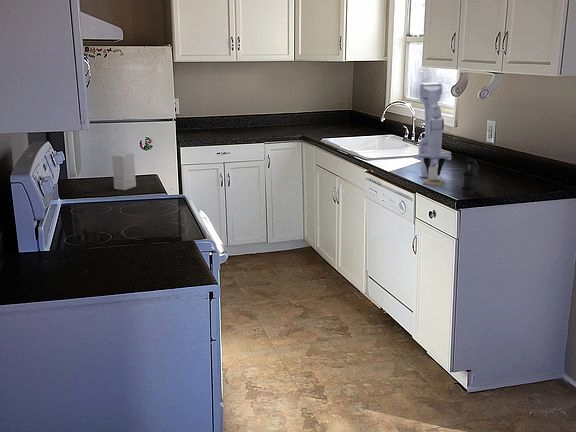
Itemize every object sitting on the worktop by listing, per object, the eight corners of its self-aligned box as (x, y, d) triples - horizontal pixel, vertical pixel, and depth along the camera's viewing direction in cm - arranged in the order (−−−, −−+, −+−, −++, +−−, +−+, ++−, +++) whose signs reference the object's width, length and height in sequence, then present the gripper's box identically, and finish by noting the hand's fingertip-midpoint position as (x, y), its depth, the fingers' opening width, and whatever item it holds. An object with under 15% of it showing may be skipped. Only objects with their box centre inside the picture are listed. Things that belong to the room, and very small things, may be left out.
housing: (430, 177, 302) (430, 163, 301) (439, 177, 301) (439, 163, 299) (428, 179, 297) (428, 165, 295) (437, 180, 296) (437, 165, 294)
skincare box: (126, 185, 304) (123, 152, 300) (137, 186, 301) (134, 153, 298) (113, 189, 297) (110, 154, 293) (124, 190, 294) (122, 155, 290)
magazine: (460, 193, 272) (465, 158, 274) (466, 200, 283) (472, 167, 286) (469, 193, 270) (474, 158, 272) (475, 201, 282) (481, 167, 284)
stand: (426, 181, 305) (426, 177, 304) (443, 182, 302) (443, 179, 301) (423, 184, 297) (423, 181, 297) (440, 185, 295) (441, 182, 294)
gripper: (417, 145, 294) (416, 175, 298) (450, 147, 289) (448, 177, 292) (420, 143, 301) (419, 172, 304) (452, 144, 295) (451, 174, 299)
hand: (433, 174), depth 299 cm, fingers closed on housing, 4 cm apart
